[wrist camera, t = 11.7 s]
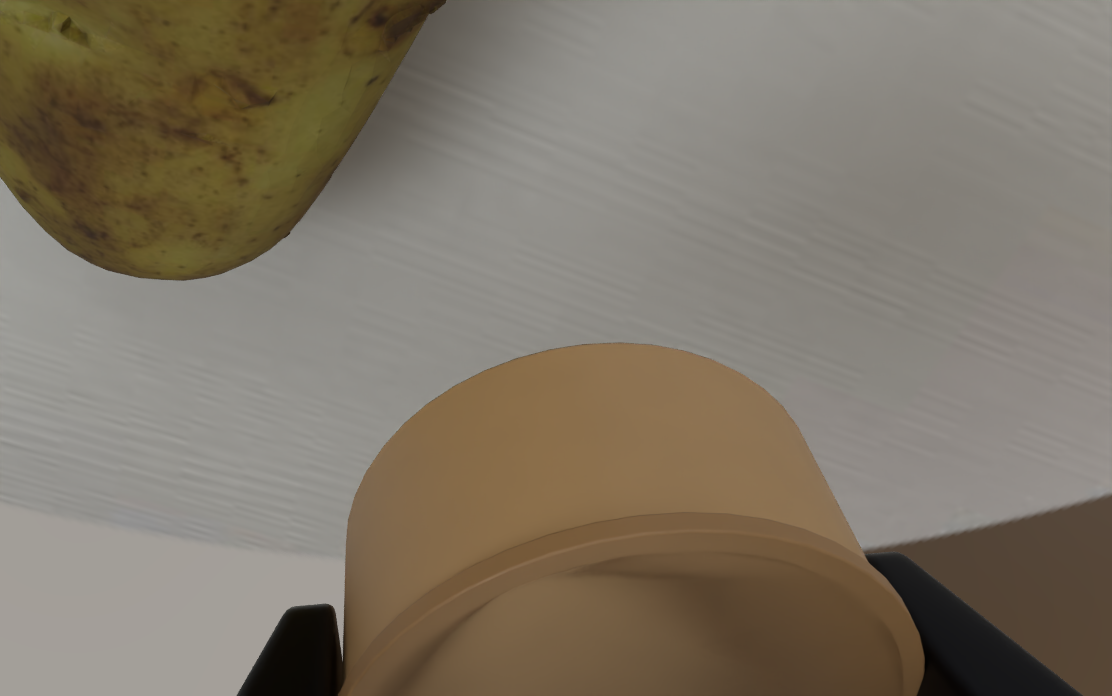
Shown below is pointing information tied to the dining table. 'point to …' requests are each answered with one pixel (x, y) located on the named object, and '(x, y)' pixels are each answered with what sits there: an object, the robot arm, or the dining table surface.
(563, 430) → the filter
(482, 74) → the dining table surface
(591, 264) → the dining table surface
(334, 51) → the potato
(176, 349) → the dining table surface
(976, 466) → the dining table surface
